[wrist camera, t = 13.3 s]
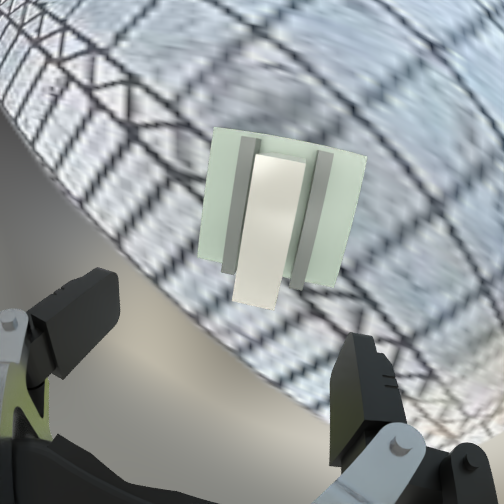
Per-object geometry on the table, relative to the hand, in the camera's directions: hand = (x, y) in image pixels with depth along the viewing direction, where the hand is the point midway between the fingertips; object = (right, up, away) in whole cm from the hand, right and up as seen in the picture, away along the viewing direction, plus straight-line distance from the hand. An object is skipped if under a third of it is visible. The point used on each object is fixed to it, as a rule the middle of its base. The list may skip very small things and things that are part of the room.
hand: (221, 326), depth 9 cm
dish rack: (+4, +7, +19) cm, 21 cm away
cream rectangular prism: (+3, +6, +18) cm, 19 cm away
